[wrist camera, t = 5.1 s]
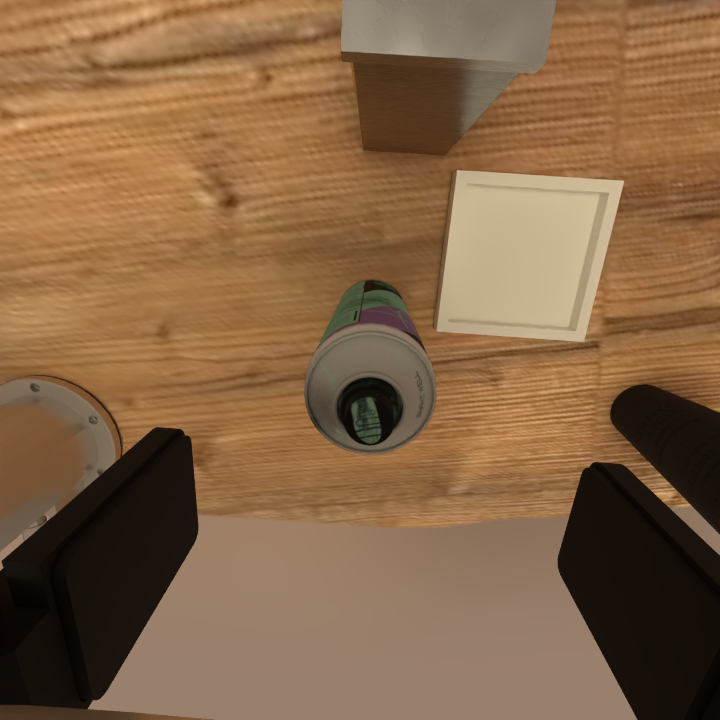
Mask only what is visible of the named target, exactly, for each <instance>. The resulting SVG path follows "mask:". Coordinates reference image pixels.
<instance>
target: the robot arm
mask: <svg viewBox="0 0 720 720" xmlns="http://www.w3.org/2000/svg"><path fill="white" fill-rule="evenodd" d="M120 454H121V446H120V439H119V435H118V432H117V430H116V427H115V425H114V423H113V421H112V419H111V418H110V416H109V414H108V413H107V412H106V411H105V409H104V408H103V407H102V406H101V405H100V404H99V403H98V402H97V401H96V400H95V399H94V398H93V397H92V396H91V395H89V394H88V393H86V392H85V391H83V390H82V389H80V388H79V387H77V386H75V385H73V384H70V383H68V382H66V381H63V380H60V379H56V378H53V377H46V376H25V377H22V378H18V379H14V380H12V381H10V382H7V383H5V384H3V385H0V551H1V550H3V549H4V548H5V547H6V546H7V545H8V544H9V543H11V542H12V541H13V540H14V539H16V538H17V537H18V536H19V535H20V534H21V533H22V534H23V539H24V542H23V543H22V544H21V545H20V546H18V548H16V549H15V550H14V551H13V552H12V553H11V554H9V555H8V556H7V557H6V558H5V559H3V560H2V564H3V567H4V568H3V569H2V570H1V571H0V720H212V719H201V718H190V717H189V718H188V717H179V716H167V715H156V714H144V713H134V712H119V711H104V710H90V709H88V707H89V706H90V704H91V702H92V701H93V700H98V699H100V698H101V697H102V696H103V695H104V694H105V692H106V691H107V690H108V688H109V686H110V684H111V683H112V681H113V680H114V678H115V676H116V675H117V673H118V671H119V670H120V668H121V666H122V664H123V663H124V661H125V659H126V658H127V656H128V654H129V653H130V651H131V649H132V648H133V646H134V644H135V643H136V641H137V639H138V637H139V636H140V634H141V632H142V631H143V629H144V627H145V626H146V624H147V622H148V621H149V619H150V617H151V615H152V614H153V612H154V610H155V609H156V607H157V605H158V604H159V602H160V600H161V599H162V597H163V595H164V594H165V592H166V590H167V588H168V587H169V585H170V583H171V582H172V580H173V578H174V577H175V575H176V573H177V572H178V570H179V568H180V567H181V565H182V563H183V562H184V560H185V558H186V556H187V555H188V553H189V551H190V550H191V548H192V546H193V545H194V543H195V540H196V538H197V534H198V515H197V503H196V492H195V480H194V468H193V456H192V444H191V439H190V437H189V436H185V434H184V432H183V430H181V429H173V428H160V427H156V428H154V429H153V430H152V431H150V432H149V433H148V434H147V435H146V436H145V437H144V438H142V439H141V440H140V441H139V442H138V443H137V444H136V445H134V446H133V447H132V448H131V449H130V450H129V451H127V452H126V453H125V454H124V455H123V456H122V457H121V458H120ZM45 515H48V516H50V519H49V520H48V521H47V518H46V516H45ZM558 569H559V572H560V575H561V577H562V579H563V581H564V582H565V584H566V586H567V588H568V590H569V592H570V594H571V596H572V598H573V599H574V601H575V603H576V605H577V607H578V609H579V611H580V612H581V614H582V616H583V618H584V620H585V622H586V624H587V626H588V628H589V629H590V631H591V633H592V635H593V637H594V639H595V641H596V642H597V644H598V646H599V648H600V650H601V652H602V654H603V656H604V658H605V659H606V661H607V663H608V665H609V667H610V669H611V671H612V673H613V674H614V676H615V678H616V680H617V682H618V684H619V686H620V687H621V689H622V691H623V693H624V695H625V697H626V699H627V701H628V703H629V704H630V706H631V708H632V710H633V712H634V714H635V716H636V717H637V719H638V720H720V555H718V553H716V552H715V551H714V550H713V549H712V548H711V547H710V546H709V545H708V544H707V543H706V542H705V541H704V540H703V539H702V538H701V537H700V536H698V535H697V534H696V533H695V532H694V531H693V530H692V529H691V528H690V527H689V526H688V525H687V524H686V523H685V522H684V521H683V520H681V519H680V518H679V517H678V516H677V515H676V514H675V513H674V512H673V511H672V510H671V509H670V508H669V507H668V506H667V505H666V504H665V503H663V502H662V501H661V500H660V499H659V498H658V497H657V496H656V495H655V494H654V493H653V492H652V491H651V490H650V489H649V488H648V487H647V486H645V485H644V484H643V483H642V482H641V481H640V480H639V479H638V478H637V477H636V476H635V475H634V474H633V473H632V472H631V471H630V470H629V469H627V468H626V467H625V466H624V465H622V464H613V463H601V462H594V463H592V464H591V465H590V467H589V468H585V469H584V470H583V472H582V474H581V478H580V481H579V485H578V488H577V492H576V495H575V499H574V502H573V506H572V509H571V513H570V516H569V520H568V523H567V527H566V531H565V535H564V538H563V541H562V545H561V548H560V552H559V555H558Z"/></svg>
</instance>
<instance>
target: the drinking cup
mask: <svg viewBox="0 0 720 720" xmlns="http://www.w3.org/2000/svg"><path fill="white" fill-rule="evenodd" d="M611 421H612V423H613V425H614V426H615V428H616V429H617V430H618V431H619V432H620V433H621V434H622V435H623V436H624V437H625V438H626V439H627V440H628V441H629V442H630V443H631V444H632V445H633V446H634V447H635V448H636V449H637V450H638V451H639V452H640V453H641V454H642V455H643V456H644V457H645V458H646V459H647V460H648V461H649V462H650V463H651V464H652V465H653V467H654V468H655V469H656V470H657V471H658V472H659V473H660V474H661V475H662V476H663V477H664V478H665V479H666V480H667V481H668V482H669V483H670V484H671V485H672V486H673V487H674V488H675V489H676V490H677V491H678V492H679V493H680V494H681V495H682V496H683V497H684V498H685V499H686V500H687V501H688V502H689V503H690V504H691V505H692V506H693V507H694V509H696V511H697V512H698V513H700V515H701V516H702V517H703V518H704V519H705V520H706V521H707V522H708V523H709V524H710V525H711V526H712V527H713V528H714V529H715V530H716V531H717V532H718V533H719V534H720V413H719V412H717V411H714V410H712V409H709V408H707V407H704V406H702V405H700V404H697V403H695V402H692V401H690V400H687V399H685V398H682V397H680V396H677V395H675V394H672V393H670V392H667V391H665V390H662V389H660V388H657V387H655V386H651V385H638V386H634V387H631V388H629V389H627V390H626V391H624V392H623V393H621V394H620V395H619V396H618V397H617V399H616V400H615V402H614V403H613V405H612V408H611Z"/></svg>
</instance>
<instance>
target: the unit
mask: <svg viewBox="0 0 720 720" xmlns="http://www.w3.org/2000/svg"><path fill="white" fill-rule="evenodd" d="M555 5H556V0H343V8H342V33H341V55H342V61H343V62H351V68H352V76H353V84H354V90H356V92H357V100H358V109H359V117H360V126H361V134H362V143H363V150H369V151H385V152H400V153H416V154H431V155H446V154H447V153H448V151H449V150H450V149H451V148H452V147H453V146H454V145H455V144H456V143H457V141H458V140H459V139H460V138H461V137H462V136H463V135H464V134H465V132H466V131H467V130H468V129H469V128H470V127H471V126H472V125H473V124H474V122H475V121H476V120H477V119H478V118H479V117H480V116H481V115H482V114H483V112H484V111H485V110H486V109H487V108H488V107H489V106H490V105H491V104H492V102H493V101H494V100H495V99H496V98H497V97H498V96H499V95H500V93H501V92H502V91H503V90H504V89H505V88H506V87H507V86H508V85H509V83H510V82H511V81H512V80H513V79H514V78H515V77H516V76H517V75H518V73H532V74H535V73H536V72H537V71H538V70H539V69H540V68H541V67H542V66H543V65H544V64H545V61H546V56H547V50H548V45H549V39H550V33H551V28H552V22H553V17H554V11H555Z"/></svg>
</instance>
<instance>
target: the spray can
mask: <svg viewBox="0 0 720 720" xmlns="http://www.w3.org/2000/svg"><path fill="white" fill-rule="evenodd" d="M304 397H305V403H306V408H307V411H308V414H309V416H310V419H311V420H312V422H313V424H314V425H315V427H316V428H317V430H318V431H319V432H320V433H321V434H322V435H323V436H324V437H325V438H326V439H328V440H329V441H330V442H332V443H333V444H335V445H337V446H339V447H341V448H343V449H345V450H348V451H352V452H355V453H361V454H382V453H386V452H390V451H394V450H396V449H398V448H401V447H403V446H405V445H407V444H408V443H409V442H411V441H412V440H414V439H415V438H416V437H417V436H418V435H419V434H420V433H421V432H422V431H423V430H424V428H425V427H426V425H427V424H428V422H429V421H430V419H431V416H432V414H433V411H434V408H435V403H436V378H435V374H434V370H433V366H432V364H431V362H430V359H429V357H428V355H427V353H426V351H425V348H424V346H423V344H422V342H421V340H420V337H419V335H418V333H417V331H416V328H415V326H414V324H413V322H412V320H411V317H410V315H409V313H408V311H407V309H406V306H405V304H404V302H403V300H402V298H401V296H400V294H399V293H398V292H397V291H396V289H394V288H393V287H392V286H391V285H389V284H387V283H386V282H383V281H380V280H364V281H361V282H358V283H356V284H355V285H353V286H352V287H351V288H349V289H348V290H347V291H346V293H345V294H344V295H343V297H342V299H341V301H340V303H339V305H338V307H337V309H336V311H335V313H334V315H333V317H332V319H331V321H330V323H329V325H328V327H327V329H326V331H325V333H324V335H323V337H322V339H321V341H320V343H319V345H318V347H317V349H316V351H315V353H314V355H313V357H312V359H311V361H310V363H309V366H308V370H307V373H306V380H305V392H304Z"/></svg>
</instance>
